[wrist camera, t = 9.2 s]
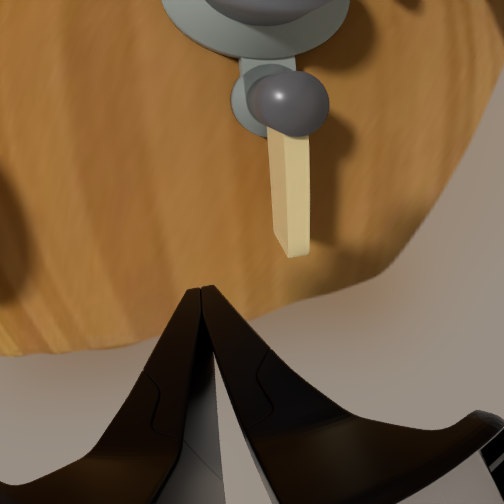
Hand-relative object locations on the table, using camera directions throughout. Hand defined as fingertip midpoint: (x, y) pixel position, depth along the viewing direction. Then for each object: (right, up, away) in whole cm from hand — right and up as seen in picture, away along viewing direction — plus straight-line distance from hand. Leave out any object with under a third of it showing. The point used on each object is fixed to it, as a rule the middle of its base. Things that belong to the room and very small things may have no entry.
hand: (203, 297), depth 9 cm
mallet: (+3, +7, +7) cm, 10 cm away
